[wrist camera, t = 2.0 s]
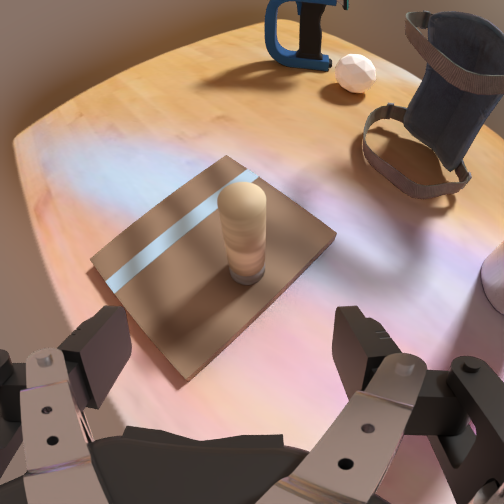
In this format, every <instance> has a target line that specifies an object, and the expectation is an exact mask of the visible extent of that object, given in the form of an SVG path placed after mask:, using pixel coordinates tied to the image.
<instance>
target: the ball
mask: <svg viewBox="0 0 504 504" xmlns="http://www.w3.org/2000/svg"><path fill="white" fill-rule="evenodd" d="M335 74H336V80H337V81H338V82H339V84H340V85H341V87H343V88H345V89H346V90H348V91H349V92H351V93H363V92H365V91H367V90H368V89H370V88H371V87H372V85H373V84H374V83H375V81H376V70H375V68H374V66H373V64H372V62H371V61H370V60H369V59H367V58H365V57H364V56H362V55H360V54H348V55H346V56H344V57H343V58H341V59H340V60H339V62H338V64H337V65H336V67H335Z"/></svg>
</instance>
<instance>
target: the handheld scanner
mask: <svg viewBox="0 0 504 504" xmlns="http://www.w3.org/2000/svg"><path fill="white" fill-rule="evenodd" d="M288 1H296V4H297V10H298V15H300V34H299V50H297V51H290V50H287V49H285V48H283V47H282V46H281V45H280V44H279V42H278V40H277V10H278V7H279V6H280V5H281V4H282V3H284V2H288ZM337 2H339V3H340V4H342V6H343V8H344V10H348V8H349V0H270V2H269V4H268V6H267V9H266V15H265V44H266V48H267V50H268V52H269V54H270V55H271V57H272V58H273V59H274V60H276V61H277V62H279V63H280V64H282V65H285V66H288V67H294V68H304V69H313V70H321V71H328V68H331V67H332V60H331V59H329V57H328V55H323V54H322V53H321V40H322V30H321V26H320V20H321V16H322V14H323V12H324V10H325V6H326V5H332V6H336V3H337Z"/></svg>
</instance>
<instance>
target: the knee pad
mask: <svg viewBox="0 0 504 504" xmlns="http://www.w3.org/2000/svg"><path fill="white" fill-rule="evenodd" d="M416 27H420V28H421V29H426V28H428V40H427V39H426V38H425V37H424V36H423V35H422V33H421V32H419V30H418V29H417V28H416ZM405 34H406V36H407V38H408V40H409V41H410V43H411V44H412V45H413V46H414V47H415V49H416V50H417V51H418V52H419V54H420V55H421V56H422V57H423V58H424V59H425V60H426V62H427V66H426V73H425V75H424V78H423V80H422V82H421V84H420V86H419V88H418V89H417V91H416V93H415V95H414V96H413V98H412V100H411V102H410V103H409V105H408V108H405V107H400V106H394V103H388V104H387V106H381V107H379V108H377V109H375V110H374V111H373V112H371V113H370V115H369V116H368V118H367V121H366V123H365V127H364V136H363V152H364V156H365V158H366V159H367V160H368V162H369V163H370V164H371V165H372V166H373V167H374V168H375V169H376V170H377V171H378V172H379V173H381V174H382V175H383V176H385V177H386V178H387V179H388V180H389V181H390V182H392V183H393V184H394V185H395V186H396V187H397V188H399V189H400V190H401V191H402V192H404V193H405V194H407V195H409V196H411V197H413V198H420V199H427V198H433V197H437V196H441V195H445V194H454V193H457V192H459V191H460V189H463V188H464V187H465V185H466V184H467V183H468V182H469V180H470V179H471V178H472V176H471V173H470V172H467V169H466V166H465V164H464V161H463V158H464V156H465V155H466V153H467V151H468V149H469V148H470V146H471V144H472V142H473V140H474V139H475V137H476V135H477V134H478V132H479V130H480V129H481V127H482V125H483V124H484V122H485V120H486V119H487V117H488V116H489V115H490V113H491V112H492V111H493V109H494V108H495V106H496V105H497V104H498V102H499V101H500V99H501V98H502V96H503V95H504V34H503V33H502V32H501V31H500V29H499V28H498V27H497V26H495V25H494V24H493V23H491V22H490V21H488V20H486V19H484V18H482V17H480V16H476V15H473V14H469V13H463V12H456V11H451V12H439V13H436V14H431V13H430V12H429V11H423V12H409V13H407V14H406V21H405ZM390 118H392V119H395V120H398V121H400V122H402V123H404V127H405V128H406V129H407V130H408V131H409V132H410V133H411V134H412V135H413V136H414V137H415V138H417V139H418V140H420V141H421V142H422V143H424V144H425V145H427V146H428V147H429V148H431V149H432V150H433V151H434V152H435V154H436V155H437V157H438V158H439V160H440V161H441V163H442V164H443V166H444V167H445V168H446V169H447V170H448V171H449V172H451V171H452V170H454V169H455V173H456V175H457V176H458V178H459V182H451V183H443V184H437V185H428V186H425V185H420V184H417V183H415V182H413V181H411V180H409V179H408V178H407V177H405V176H404V175H403V174H402V173H400V172H399V171H398V170H396V169H395V168H394V167H392V166H391V165H390V164H388V163H387V162H385V161H384V160H382V159H381V158H380V157H379V156H377V155H376V154H375V153H374V152H373V151H372V150H371V149H370V148H369V146H368V145H367V144H366V141H365V137H366V134H367V131H368V129H369V127H370V126H371V125H372V124H373V123H374V122H376V121H378V120H380V119H390Z"/></svg>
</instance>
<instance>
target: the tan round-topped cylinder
mask: <svg viewBox="0 0 504 504" xmlns="http://www.w3.org/2000/svg"><path fill="white" fill-rule="evenodd" d="M217 205H218V211H219V216H220V222H221V227H222V233H223V238H224V243H225V249H226V254H227V259H228V265H229V270H230V274H231V277H232V278H233V279H234V280H235V281H236V282H237V283H239V284H242V285H252V284H255V283H257V282H258V281H260V280H261V279H262V277H263V276H264V273H265V247H266V195H265V193H264V191H263V190H262V189H261V188H260V187H259V186H257V185H255V184H253V183H249V182H236V183H232V184H230V185H228V186H226V187H225V188H224V189H223V190H222V191H221V192H220V193H219V195H218V198H217Z"/></svg>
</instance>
